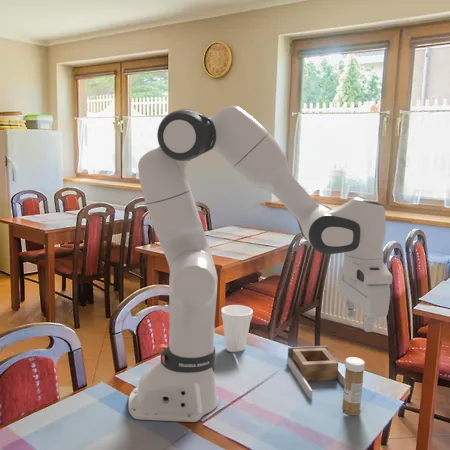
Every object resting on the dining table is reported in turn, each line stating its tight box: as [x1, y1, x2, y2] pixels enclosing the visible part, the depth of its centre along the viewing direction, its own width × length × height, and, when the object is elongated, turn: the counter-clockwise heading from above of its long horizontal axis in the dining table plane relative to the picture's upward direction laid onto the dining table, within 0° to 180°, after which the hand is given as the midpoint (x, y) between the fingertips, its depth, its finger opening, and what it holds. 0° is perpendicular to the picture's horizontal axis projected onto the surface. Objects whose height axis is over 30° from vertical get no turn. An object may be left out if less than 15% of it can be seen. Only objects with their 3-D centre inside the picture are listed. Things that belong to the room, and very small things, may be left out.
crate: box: [292, 348, 339, 383], centre depth 137 cm, size 10×10×5 cm
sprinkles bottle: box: [342, 356, 366, 416], centre depth 118 cm, size 5×5×13 cm
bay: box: [286, 345, 345, 401], centre depth 133 cm, size 12×20×6 cm, turn 9°
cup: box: [220, 304, 254, 353], centre depth 152 cm, size 10×10×13 cm
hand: (358, 323), depth 116 cm, fingers open, 8 cm apart
